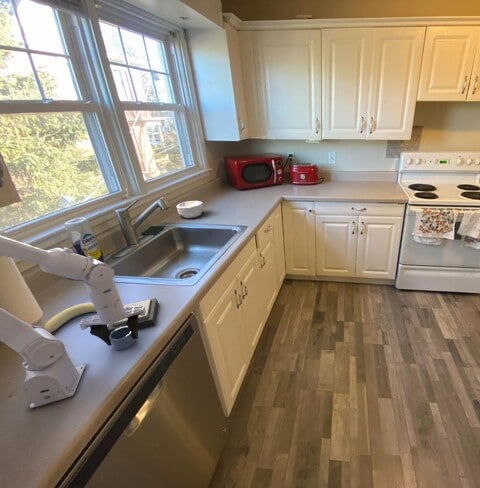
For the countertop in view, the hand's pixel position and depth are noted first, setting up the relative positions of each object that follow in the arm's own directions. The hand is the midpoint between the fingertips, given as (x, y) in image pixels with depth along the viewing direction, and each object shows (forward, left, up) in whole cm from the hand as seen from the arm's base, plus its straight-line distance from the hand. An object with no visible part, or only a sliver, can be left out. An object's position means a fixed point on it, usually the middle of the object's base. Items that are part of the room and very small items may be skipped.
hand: (123, 339), depth 80 cm
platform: (+11, -1, +1) cm, 11 cm away
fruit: (+18, +17, -2) cm, 25 cm away
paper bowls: (+110, -18, -2) cm, 111 cm away
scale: (+11, -1, -1) cm, 11 cm away
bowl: (0, 0, -1) cm, 1 cm away
